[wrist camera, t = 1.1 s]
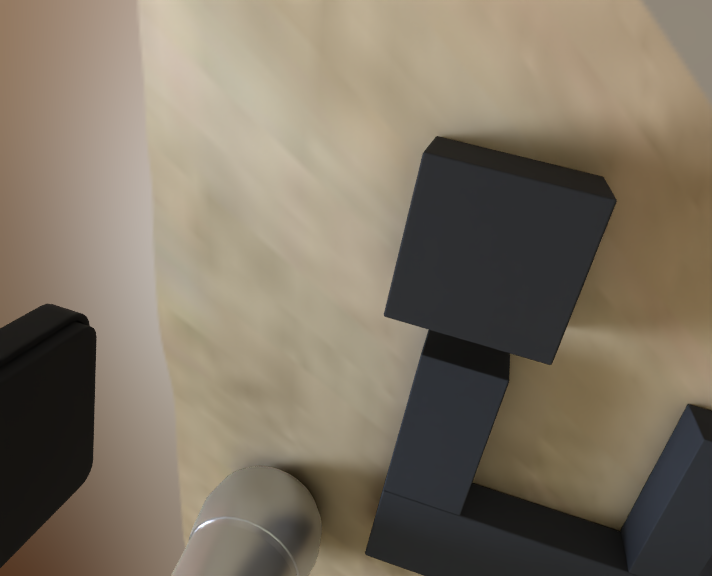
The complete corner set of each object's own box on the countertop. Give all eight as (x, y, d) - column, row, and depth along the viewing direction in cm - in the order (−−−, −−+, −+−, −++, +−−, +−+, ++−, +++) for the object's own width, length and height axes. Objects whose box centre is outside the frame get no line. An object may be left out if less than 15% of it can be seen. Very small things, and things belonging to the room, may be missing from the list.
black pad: (435, 135, 24) (423, 151, 21) (604, 176, 23) (617, 199, 20) (399, 283, 27) (382, 316, 24) (547, 325, 26) (551, 366, 23)
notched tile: (429, 327, 27) (421, 354, 25) (779, 430, 25) (804, 469, 23) (375, 518, 32) (364, 555, 30) (661, 617, 30) (672, 664, 28)
